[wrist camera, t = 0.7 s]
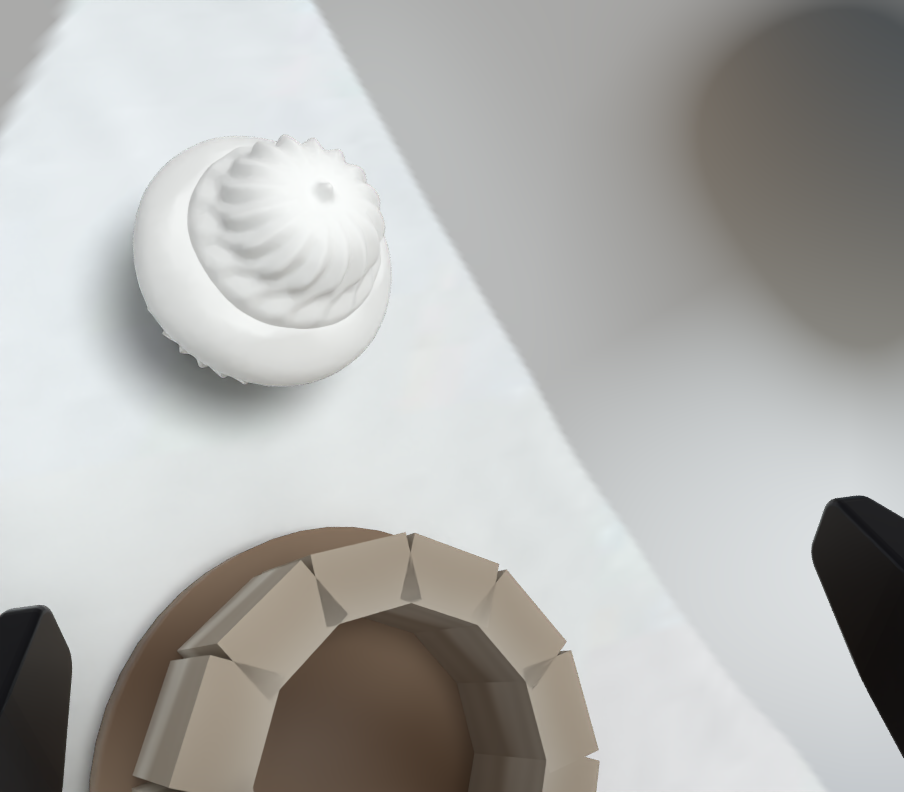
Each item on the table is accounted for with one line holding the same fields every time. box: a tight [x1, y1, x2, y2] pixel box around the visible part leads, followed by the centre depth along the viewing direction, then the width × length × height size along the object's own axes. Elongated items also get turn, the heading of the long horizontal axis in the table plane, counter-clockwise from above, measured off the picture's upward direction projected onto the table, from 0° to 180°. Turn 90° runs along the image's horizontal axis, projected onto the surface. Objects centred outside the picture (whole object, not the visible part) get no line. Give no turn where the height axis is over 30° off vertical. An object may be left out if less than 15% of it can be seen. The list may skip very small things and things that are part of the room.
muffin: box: [133, 135, 391, 387], centre depth 20 cm, size 6×6×7 cm
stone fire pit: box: [89, 527, 599, 792], centre depth 19 cm, size 11×11×4 cm
